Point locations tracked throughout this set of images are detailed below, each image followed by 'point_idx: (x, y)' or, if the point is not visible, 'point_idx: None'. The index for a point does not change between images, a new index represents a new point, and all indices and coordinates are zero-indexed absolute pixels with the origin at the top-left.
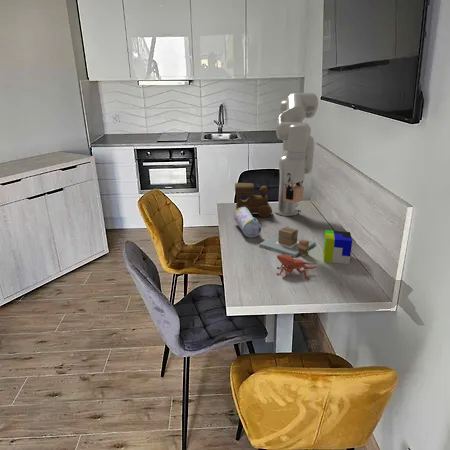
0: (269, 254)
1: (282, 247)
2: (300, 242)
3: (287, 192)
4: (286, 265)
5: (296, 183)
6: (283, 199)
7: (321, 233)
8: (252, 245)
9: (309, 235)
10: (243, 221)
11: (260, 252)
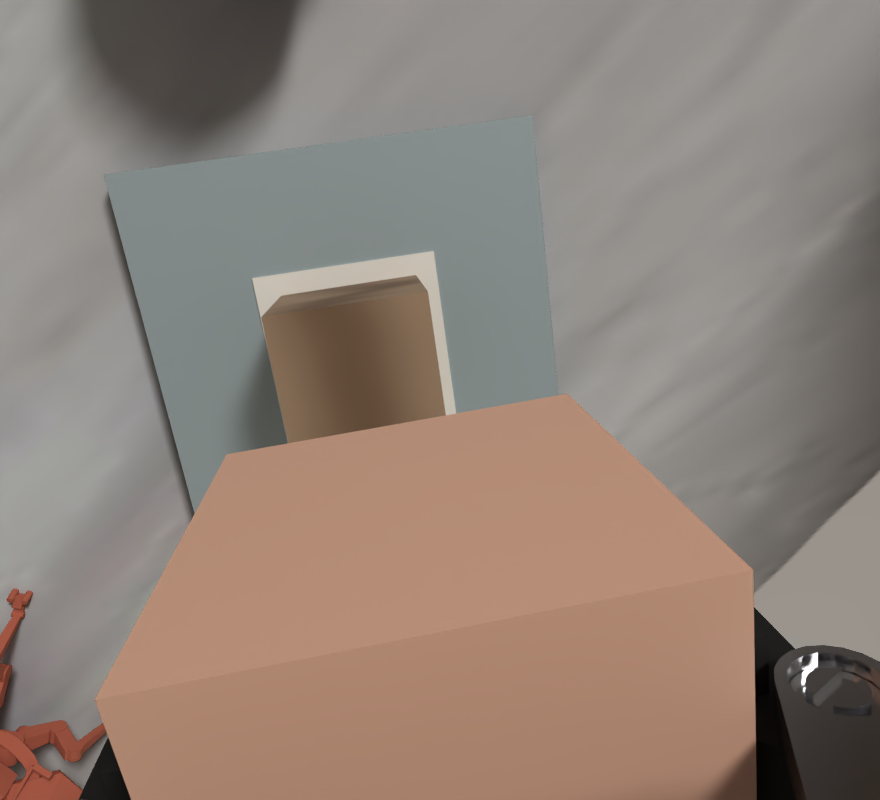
0: (66, 381)
1: (233, 395)
2: None
3: (99, 793)
4: (17, 626)
5: (847, 794)
6: (222, 470)
7: (831, 360)
8: (65, 112)
9: (714, 320)
10: None
11: (20, 296)
